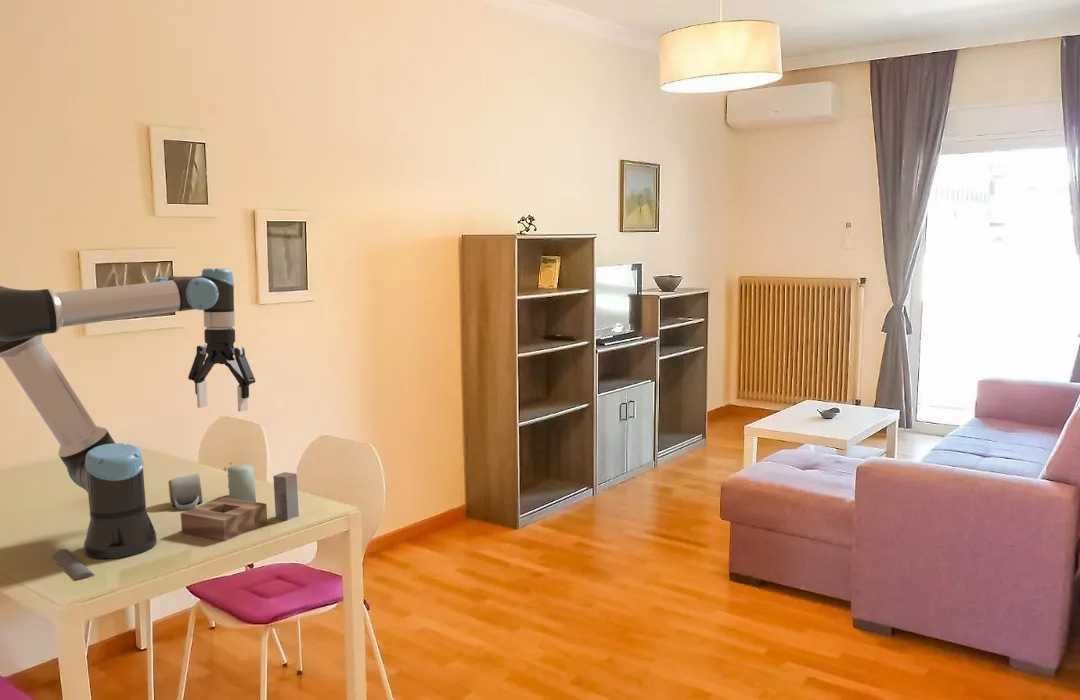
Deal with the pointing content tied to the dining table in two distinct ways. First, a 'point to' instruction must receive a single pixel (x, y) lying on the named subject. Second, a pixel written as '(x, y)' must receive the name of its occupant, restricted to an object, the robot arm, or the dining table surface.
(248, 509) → the socket block
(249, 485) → the round peg
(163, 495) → the dining table surface
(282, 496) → the square peg
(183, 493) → the ceramic mug
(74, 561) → the half round rod
